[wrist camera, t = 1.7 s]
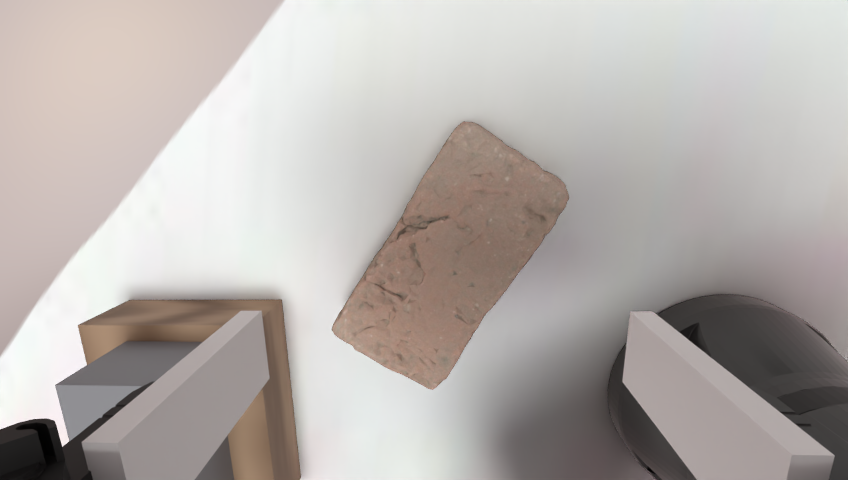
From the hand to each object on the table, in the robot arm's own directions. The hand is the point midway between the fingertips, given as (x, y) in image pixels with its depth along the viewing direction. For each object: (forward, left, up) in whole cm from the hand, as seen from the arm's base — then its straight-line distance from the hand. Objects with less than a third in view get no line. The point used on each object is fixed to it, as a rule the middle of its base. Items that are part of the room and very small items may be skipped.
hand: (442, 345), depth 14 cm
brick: (0, 0, -15) cm, 15 cm away
